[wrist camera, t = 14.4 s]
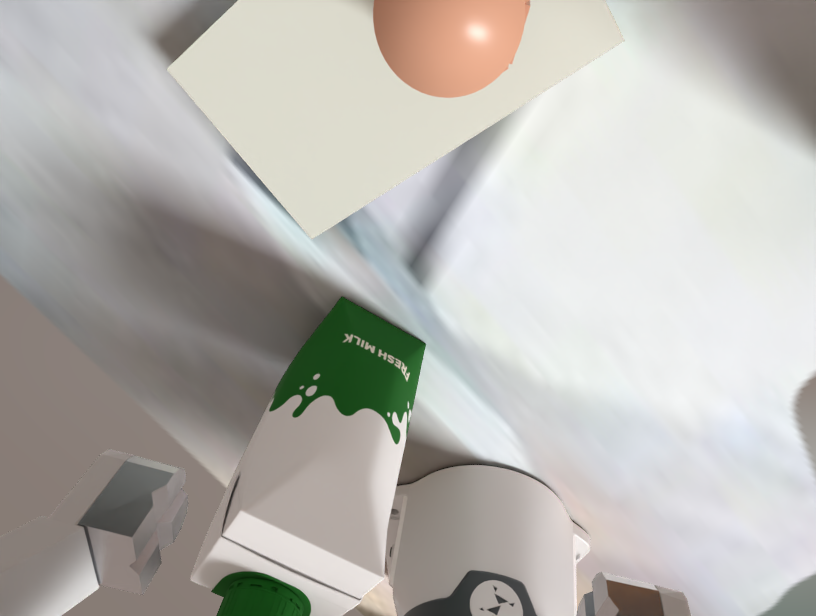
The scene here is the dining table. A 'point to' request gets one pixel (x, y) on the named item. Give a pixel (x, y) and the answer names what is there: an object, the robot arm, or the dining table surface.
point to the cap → (449, 41)
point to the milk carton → (317, 476)
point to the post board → (358, 96)
